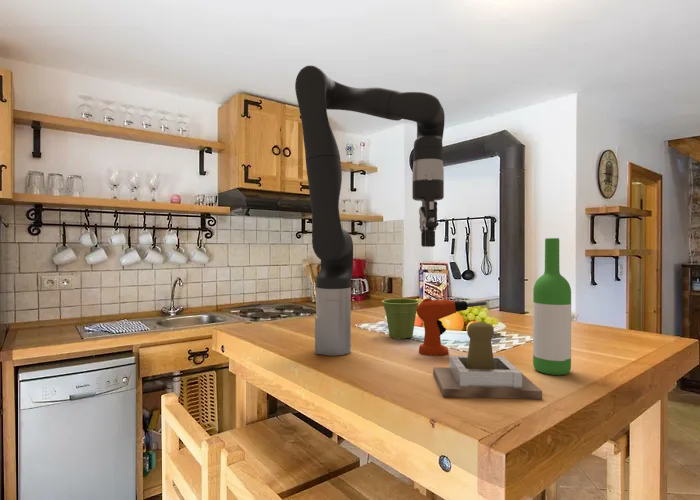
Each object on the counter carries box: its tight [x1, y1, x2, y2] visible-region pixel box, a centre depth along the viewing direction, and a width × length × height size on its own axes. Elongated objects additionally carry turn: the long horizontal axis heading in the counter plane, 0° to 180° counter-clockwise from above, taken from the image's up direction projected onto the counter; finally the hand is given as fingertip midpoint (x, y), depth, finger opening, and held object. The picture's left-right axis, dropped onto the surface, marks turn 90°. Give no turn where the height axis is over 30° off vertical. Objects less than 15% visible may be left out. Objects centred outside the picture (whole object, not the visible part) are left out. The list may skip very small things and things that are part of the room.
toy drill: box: [416, 297, 488, 356], centre depth 109 cm, size 5×19×15 cm, turn 82°
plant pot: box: [381, 298, 421, 340], centre depth 130 cm, size 12×12×11 cm
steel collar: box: [448, 354, 523, 389], centre depth 84 cm, size 11×12×3 cm
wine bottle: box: [532, 237, 572, 376], centre depth 94 cm, size 8×8×30 cm
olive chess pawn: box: [466, 321, 495, 370], centre depth 85 cm, size 6×6×11 cm
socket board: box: [432, 366, 543, 400], centre depth 84 cm, size 18×14×2 cm
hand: (427, 246), depth 101 cm, fingers open, 8 cm apart
